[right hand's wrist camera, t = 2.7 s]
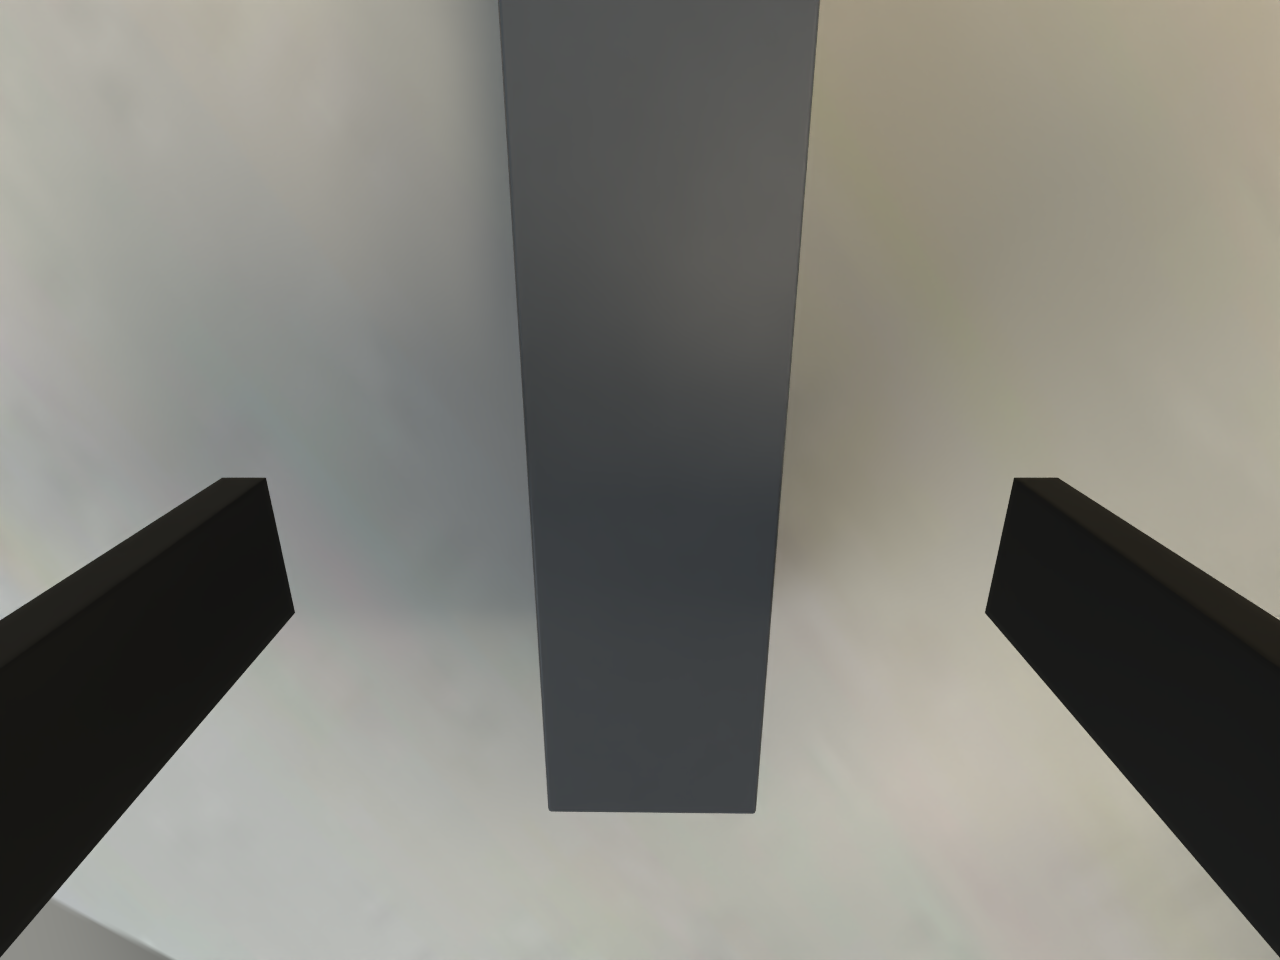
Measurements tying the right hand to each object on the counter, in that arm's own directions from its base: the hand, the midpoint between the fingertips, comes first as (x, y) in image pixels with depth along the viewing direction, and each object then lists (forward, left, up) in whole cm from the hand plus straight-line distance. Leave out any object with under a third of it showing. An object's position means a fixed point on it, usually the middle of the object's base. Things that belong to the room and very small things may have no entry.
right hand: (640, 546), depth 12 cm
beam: (+3, -31, -9) cm, 32 cm away
